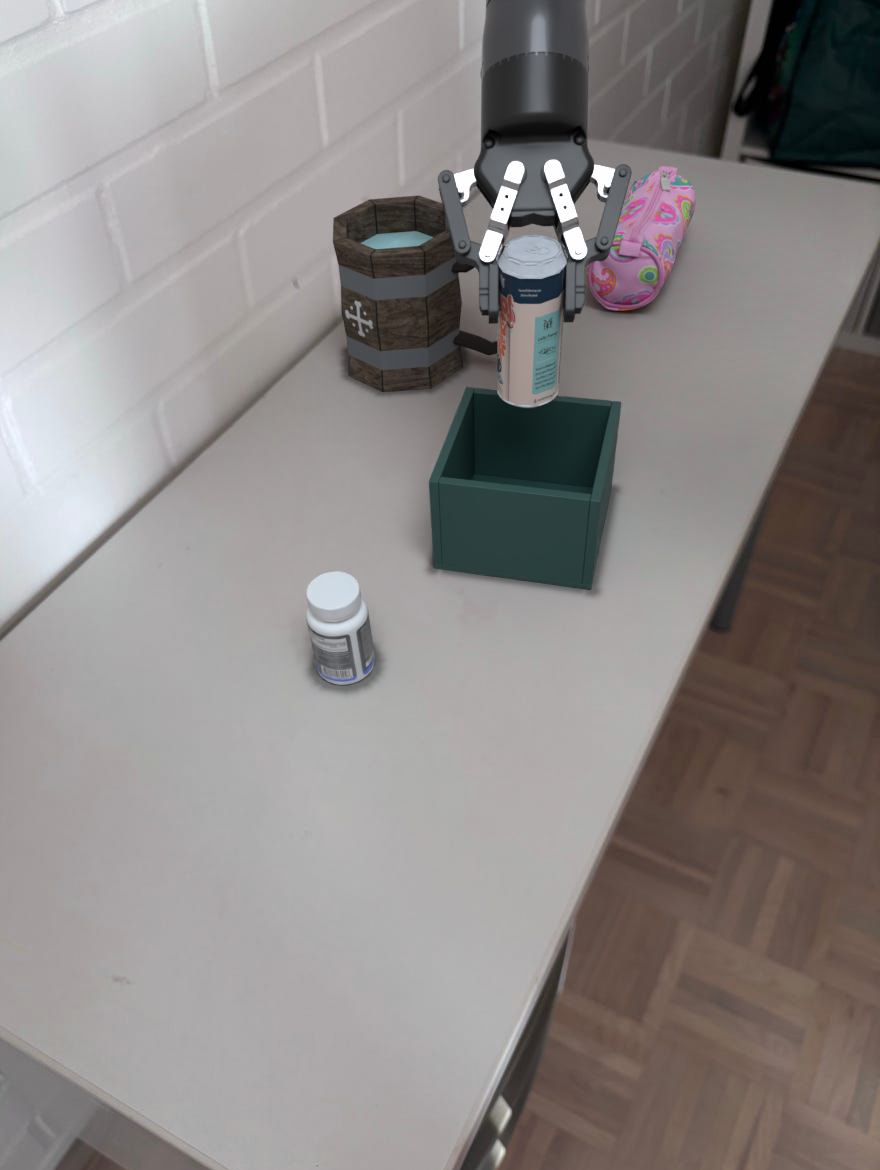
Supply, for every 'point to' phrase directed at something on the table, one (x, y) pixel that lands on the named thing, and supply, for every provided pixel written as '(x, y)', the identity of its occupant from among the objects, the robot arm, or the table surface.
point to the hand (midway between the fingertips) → (531, 319)
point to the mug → (401, 294)
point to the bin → (524, 488)
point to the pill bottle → (339, 628)
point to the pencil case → (644, 241)
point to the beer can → (530, 320)
